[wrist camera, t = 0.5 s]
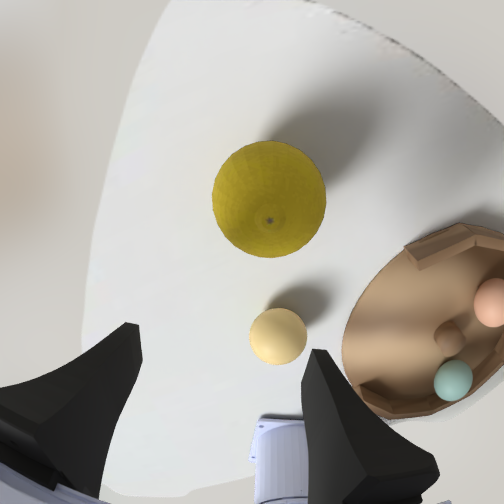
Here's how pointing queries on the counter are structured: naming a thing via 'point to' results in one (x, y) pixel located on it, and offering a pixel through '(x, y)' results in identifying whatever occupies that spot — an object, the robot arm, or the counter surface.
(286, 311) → the pale yellow ball
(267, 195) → the lemon
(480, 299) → the bead terracotta
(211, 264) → the counter surface
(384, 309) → the groove tray
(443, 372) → the bead teal
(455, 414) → the counter surface
